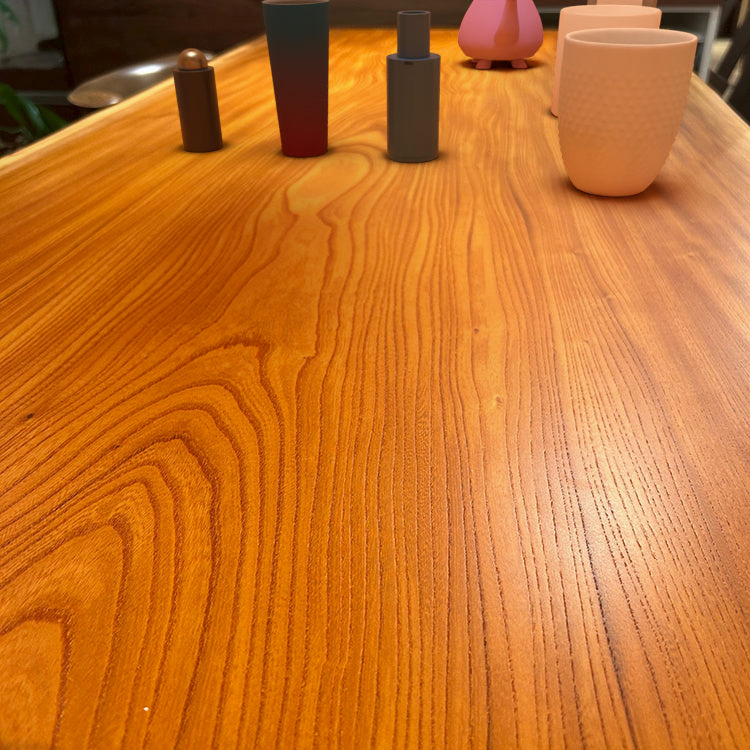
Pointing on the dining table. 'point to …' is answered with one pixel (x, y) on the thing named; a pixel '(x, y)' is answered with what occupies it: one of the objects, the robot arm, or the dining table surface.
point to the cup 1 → (299, 72)
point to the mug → (621, 105)
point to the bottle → (413, 91)
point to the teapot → (500, 32)
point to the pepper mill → (197, 102)
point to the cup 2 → (598, 19)
